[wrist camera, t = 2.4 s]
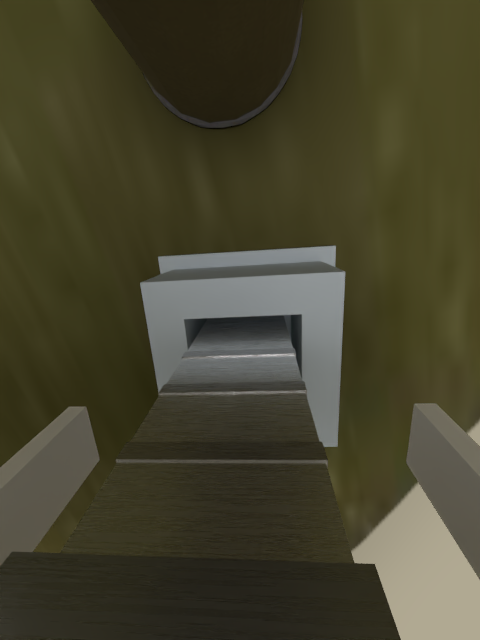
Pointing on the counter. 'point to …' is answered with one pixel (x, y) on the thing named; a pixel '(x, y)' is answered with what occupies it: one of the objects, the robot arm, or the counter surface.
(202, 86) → the canister
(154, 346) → the stand base
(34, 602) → the column
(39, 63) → the counter surface
